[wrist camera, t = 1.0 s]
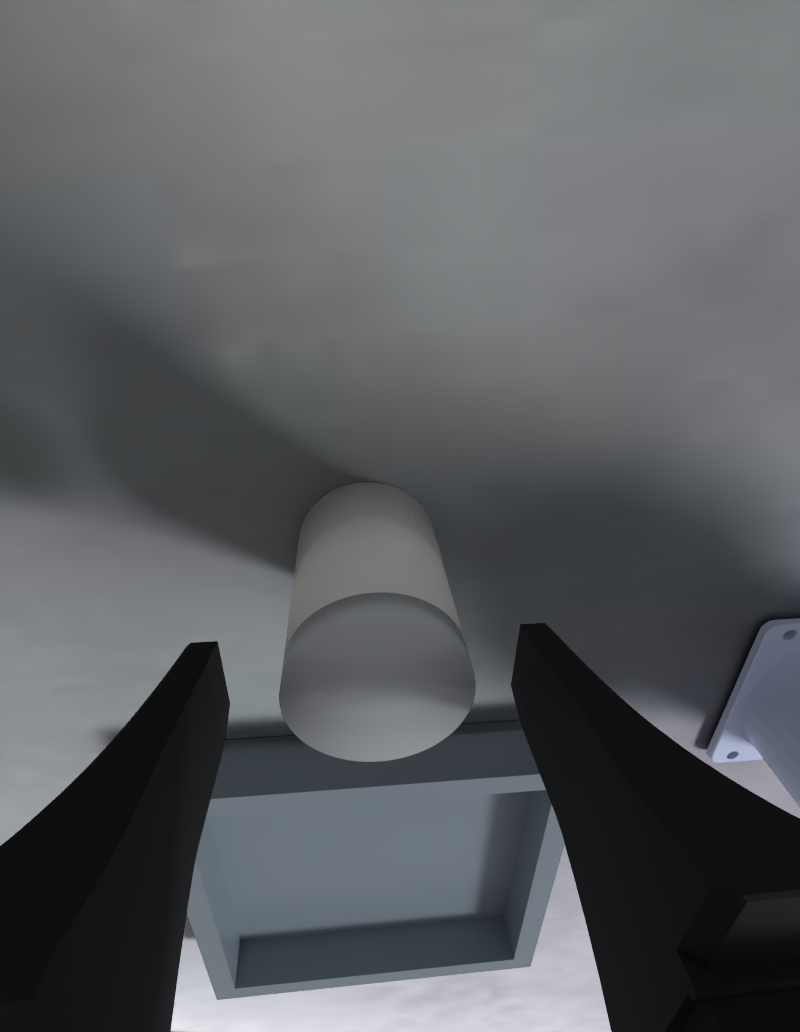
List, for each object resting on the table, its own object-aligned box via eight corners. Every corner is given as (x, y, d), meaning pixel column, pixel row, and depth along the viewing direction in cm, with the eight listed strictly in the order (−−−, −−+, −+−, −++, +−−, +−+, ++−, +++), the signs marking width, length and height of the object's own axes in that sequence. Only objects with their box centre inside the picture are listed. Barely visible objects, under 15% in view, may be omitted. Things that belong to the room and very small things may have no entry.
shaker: (437, 479, 17) (483, 616, 12) (431, 593, 19) (468, 754, 14) (293, 484, 17) (268, 628, 11) (303, 599, 19) (288, 768, 13)
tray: (562, 717, 23) (584, 770, 21) (517, 913, 31) (530, 966, 29) (167, 743, 22) (148, 803, 20) (226, 941, 30) (217, 999, 28)
